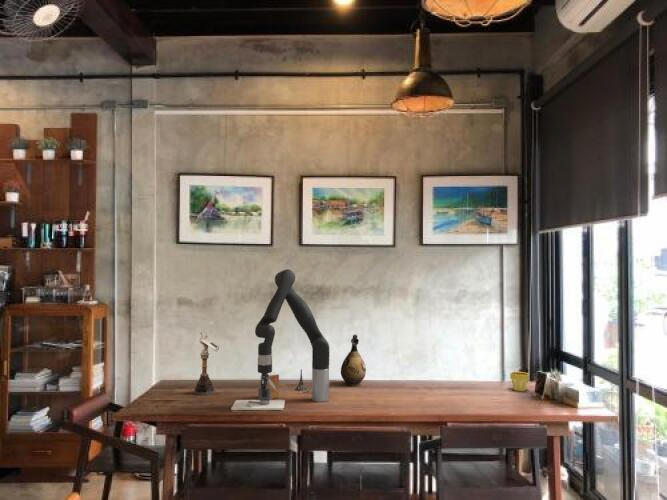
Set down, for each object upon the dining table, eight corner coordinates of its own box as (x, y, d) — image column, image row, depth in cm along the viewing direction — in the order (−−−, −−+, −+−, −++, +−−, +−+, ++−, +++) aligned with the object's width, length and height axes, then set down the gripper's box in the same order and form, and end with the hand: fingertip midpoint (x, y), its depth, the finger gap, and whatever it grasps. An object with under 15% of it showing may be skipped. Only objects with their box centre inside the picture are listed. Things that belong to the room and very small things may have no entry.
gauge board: (284, 402, 298) (284, 399, 298) (282, 411, 282) (282, 408, 282) (236, 402, 297) (236, 399, 297) (231, 411, 281) (231, 408, 281)
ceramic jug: (366, 387, 333) (366, 337, 333) (340, 387, 333) (340, 337, 334) (365, 380, 350) (365, 333, 350) (340, 380, 350) (340, 333, 350)
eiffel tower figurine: (307, 394, 318) (307, 370, 318) (290, 393, 320) (290, 370, 320) (313, 388, 333) (313, 365, 333) (296, 387, 335) (296, 365, 335)
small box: (265, 399, 304) (266, 375, 304) (260, 397, 309) (260, 373, 309) (279, 397, 308) (279, 374, 308) (273, 395, 314) (273, 372, 314)
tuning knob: (271, 402, 291) (271, 387, 291) (268, 405, 287) (268, 389, 287) (250, 401, 294) (250, 385, 294) (246, 403, 289) (247, 388, 289)
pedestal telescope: (225, 389, 327) (225, 329, 327) (222, 395, 314) (222, 332, 314) (196, 389, 326) (196, 329, 326) (192, 395, 313) (192, 332, 313)
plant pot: (526, 388, 332) (526, 371, 332) (530, 392, 322) (530, 375, 322) (508, 387, 333) (508, 371, 333) (512, 391, 323) (512, 374, 323)
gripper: (259, 360, 297) (259, 392, 297) (255, 365, 283) (255, 399, 283) (273, 360, 297) (273, 393, 296) (270, 365, 283) (270, 399, 283)
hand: (264, 396), depth 290 cm, fingers closed on tuning knob, 2 cm apart
